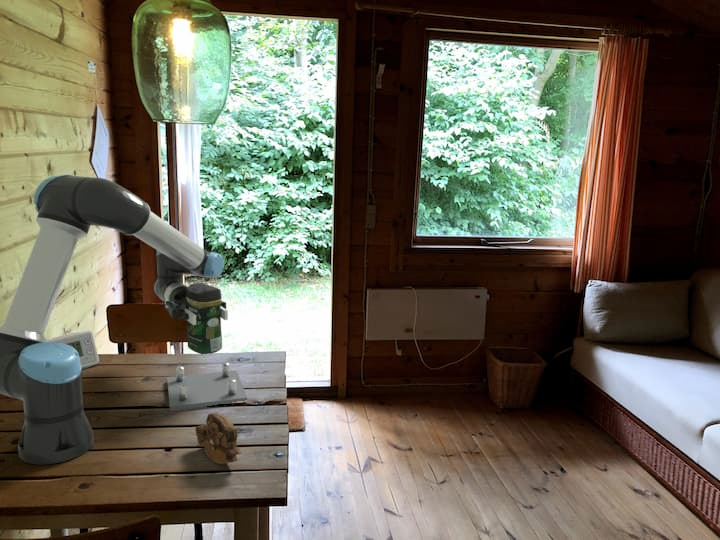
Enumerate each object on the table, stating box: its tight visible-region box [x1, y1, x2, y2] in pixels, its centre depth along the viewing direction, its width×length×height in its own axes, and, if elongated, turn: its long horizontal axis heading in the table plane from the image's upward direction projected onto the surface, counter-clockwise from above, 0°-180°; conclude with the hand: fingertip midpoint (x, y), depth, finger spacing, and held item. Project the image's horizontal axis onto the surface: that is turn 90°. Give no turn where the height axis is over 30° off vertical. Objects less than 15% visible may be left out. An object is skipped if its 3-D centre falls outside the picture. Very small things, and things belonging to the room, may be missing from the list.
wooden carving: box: [194, 412, 242, 465], centre depth 127 cm, size 16×5×10 cm, turn 48°
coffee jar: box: [186, 282, 223, 355], centre depth 157 cm, size 10×8×19 cm
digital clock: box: [46, 329, 100, 371], centre depth 173 cm, size 16×9×11 cm, turn 132°
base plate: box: [166, 361, 248, 412], centre depth 161 cm, size 20×20×6 cm
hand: (210, 317), depth 153 cm, fingers closed on coffee jar, 8 cm apart
